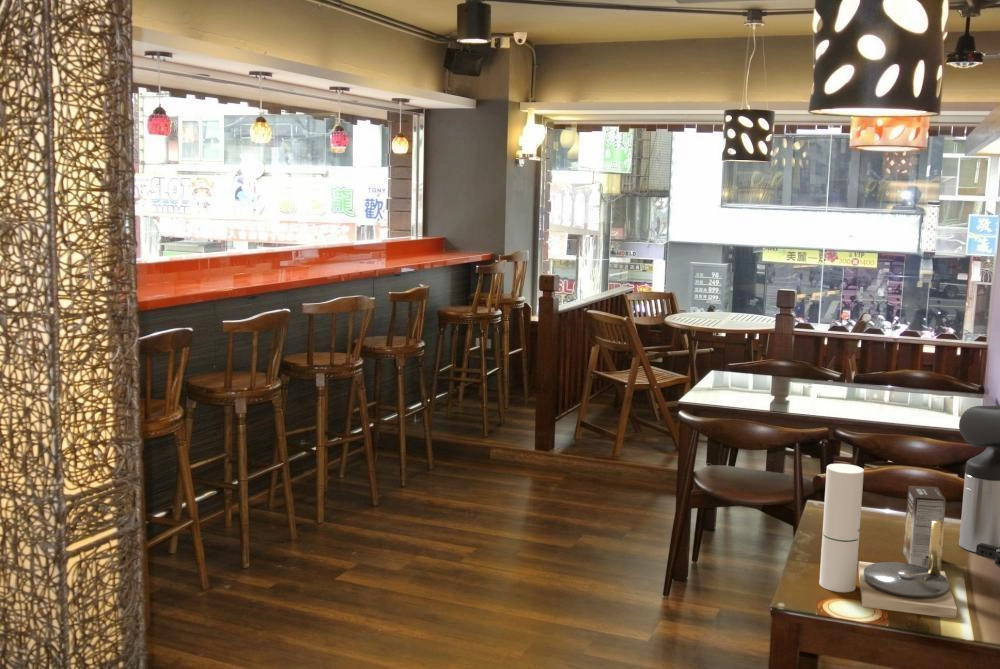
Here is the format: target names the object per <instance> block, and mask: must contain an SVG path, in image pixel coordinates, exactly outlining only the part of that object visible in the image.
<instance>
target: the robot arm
mask: <svg viewBox="0 0 1000 669" xmlns="http://www.w3.org/2000/svg"><path fill="white" fill-rule="evenodd" d="M958 422H959V423H958V429H959V433H960V435H961V436H962V439H963V440H965V441H966V443H968V444H969V445H970V446H971V445H972V446H974V447H979V448H985V449H984V450H983V451H982V452H981V453H979V454H977V455H976V456H973V457H971V458H969V459H968V460H966V463H965V469H964V481H963V494H962V507H961V517H960V527H959V528H960V529H959V541H958V545H959V546H960V547H961V548H962V549H965V550H967V551H970V552H973V553H975V554H976V555H977V556H980V557H984V558H987V559H991V560H994V565H995V566H997V567H998V568H1000V405H976V406H972V407H970V408H967V409H966V410H964V412H963V413H962V415H961V416H960V419H959V421H958Z"/></svg>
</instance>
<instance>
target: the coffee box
mask: <svg viewBox="0 0 1000 669" xmlns="http://www.w3.org/2000/svg"><path fill="white" fill-rule="evenodd" d="M906 500H907V501H906V513H905V526H904V537H903V538H904V541H903V555H904V557H905V559H906V561H907V564H913V565H918V566H922V567H925V568H928V561H929V549H930V536H931V524H932V520H941V521H944V522H945V514H946V512H945V510H946V498H945V496H944V495H943V493H942V492H941V490H940V488H939V487H938V486H922V485H920V486H919V485H908V489H907V498H906Z"/></svg>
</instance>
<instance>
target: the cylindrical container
mask: <svg viewBox="0 0 1000 669" xmlns="http://www.w3.org/2000/svg"><path fill="white" fill-rule="evenodd" d="M864 471H865V470H864V468H862V467H860V466H858V465H854V464H850V463H849V464H848V463H830V464H828V465H827V466H826V473H825V486H824V487H825V489H824V490H825V491H824V505H823V517H822V518H823V519H822V520H823V523H822V538H821V549H820V550H821V552H820V564H819V565H820V568H819V583H818V584H819V586H821V587H822V588H824V589H825V590H828V591H830V592H837V593H850V592H854V591H855V590H856V587H857V576H858V575H857V574H858V572H857V571H858V562H859V561H858V560H859V545H860V544H859V543H860V530H861V529H860V528H861V517H862V516H861V515H862V501H863V488H864V487H863V486H864V485H863V484H864V474H865V472H864Z"/></svg>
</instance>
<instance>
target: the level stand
mask: <svg viewBox="0 0 1000 669" xmlns="http://www.w3.org/2000/svg"><path fill="white" fill-rule="evenodd" d="M874 563H875V562H868V561H860V560H859V561H858V566H857V571H858V572H857V573H858V579H859V580H858V581H859V589H860V599H861V600H860V601H861V607H862V608H869V609H878V610H886V611H894V612H901V613H907V614H914V615H915V614H917V615H925V616H932V617H933V616H934V617H940V618H949V619H957V612H958V608H957V605H956V603H955V599H954V596H953V593H952V590H951V587H950V584H949V582H948V591H947V593H946V594H944V595H942V596H939V597H934V598H909V597H902V596H897V595H893V594H889V593H886V592H883V591H880V590H878V589H876V588H874V587H872V586H870V585H869V584H868V583H867V582H866V581H865V580H864V577H863V576H864V569H865V568H866V567H867V566H868V565H871V564H874ZM940 574H941V575H943V576H944V577H945V578H946V579H947V580H948V578H947V575H946V571H943V570H941V571H940Z"/></svg>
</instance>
